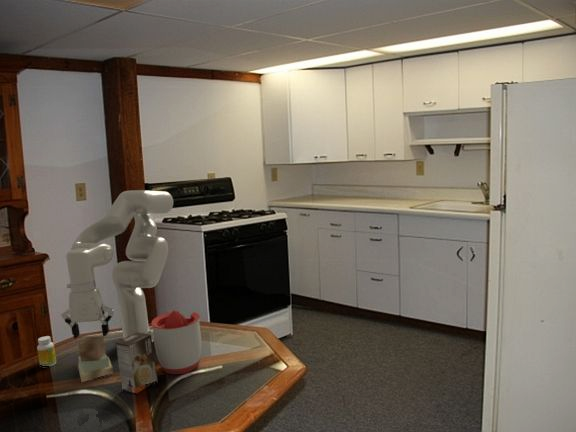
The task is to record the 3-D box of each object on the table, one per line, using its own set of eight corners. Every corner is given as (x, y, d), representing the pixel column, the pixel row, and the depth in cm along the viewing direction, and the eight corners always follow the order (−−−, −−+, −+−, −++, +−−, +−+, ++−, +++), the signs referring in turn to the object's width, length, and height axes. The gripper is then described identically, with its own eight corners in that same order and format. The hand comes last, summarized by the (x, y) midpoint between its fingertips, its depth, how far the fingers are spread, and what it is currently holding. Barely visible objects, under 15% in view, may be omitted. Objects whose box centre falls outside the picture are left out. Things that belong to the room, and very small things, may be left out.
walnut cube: (81, 361, 179) (78, 344, 178) (88, 353, 185) (86, 337, 184) (98, 360, 179) (96, 343, 178) (105, 352, 184) (103, 336, 183)
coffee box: (143, 378, 176) (137, 331, 173) (158, 382, 172) (152, 334, 169) (121, 391, 168) (115, 342, 165) (136, 395, 165) (129, 345, 162)
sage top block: (103, 358, 188) (102, 349, 187) (109, 366, 181) (108, 357, 180) (79, 364, 184) (78, 356, 183) (84, 373, 177) (82, 364, 176)
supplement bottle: (50, 367, 188) (46, 341, 187) (36, 367, 190) (32, 341, 188) (59, 361, 194) (55, 335, 192) (46, 360, 195) (42, 335, 193)
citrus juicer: (214, 356, 188) (209, 301, 184) (190, 380, 172) (183, 320, 168) (175, 353, 193) (169, 299, 189) (147, 376, 177) (140, 317, 173)
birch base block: (109, 364, 189) (108, 356, 189) (113, 375, 180) (112, 367, 180) (79, 372, 185) (77, 363, 184) (81, 383, 176) (80, 375, 176)
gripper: (52, 292, 174) (60, 342, 177) (105, 288, 173) (113, 338, 176) (62, 284, 181) (70, 332, 184) (113, 281, 181) (120, 329, 184)
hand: (91, 335), depth 180 cm, fingers open, 9 cm apart
